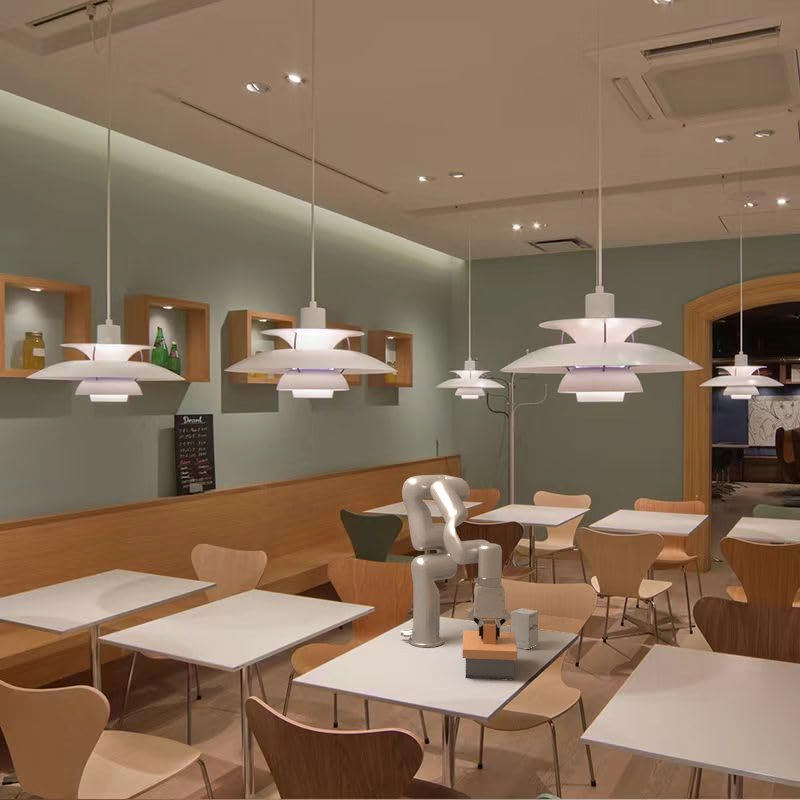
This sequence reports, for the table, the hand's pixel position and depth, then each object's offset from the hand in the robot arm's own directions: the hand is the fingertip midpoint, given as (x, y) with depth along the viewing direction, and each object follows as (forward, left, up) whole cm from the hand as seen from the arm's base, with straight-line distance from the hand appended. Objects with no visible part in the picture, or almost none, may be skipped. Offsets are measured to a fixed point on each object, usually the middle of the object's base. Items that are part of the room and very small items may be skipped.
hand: (489, 638), depth 269 cm
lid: (0, 0, -3) cm, 3 cm away
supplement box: (+13, +27, -10) cm, 32 cm away
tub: (0, 0, -10) cm, 10 cm away
